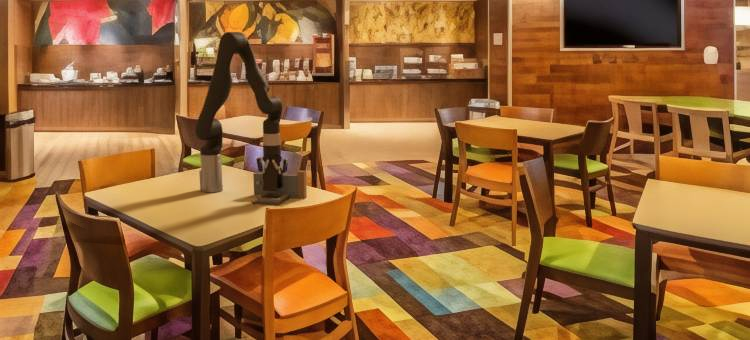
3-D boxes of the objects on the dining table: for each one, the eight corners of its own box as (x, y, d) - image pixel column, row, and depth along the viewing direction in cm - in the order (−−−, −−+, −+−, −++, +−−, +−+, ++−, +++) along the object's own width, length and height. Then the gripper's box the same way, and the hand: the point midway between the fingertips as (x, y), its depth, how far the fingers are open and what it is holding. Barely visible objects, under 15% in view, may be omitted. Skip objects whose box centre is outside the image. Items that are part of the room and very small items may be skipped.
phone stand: (275, 191, 265) (275, 163, 263) (262, 190, 266) (261, 163, 264) (283, 186, 274) (282, 159, 271) (270, 186, 275) (269, 159, 272)
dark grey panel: (253, 195, 278) (252, 169, 275) (256, 194, 281) (255, 168, 279) (303, 199, 272) (303, 172, 270) (306, 197, 276) (306, 170, 274)
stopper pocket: (252, 203, 264) (252, 199, 264) (265, 196, 278) (265, 191, 277) (279, 205, 262) (279, 200, 261) (290, 197, 275) (290, 193, 275)
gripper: (252, 144, 264) (254, 182, 267) (284, 145, 261) (285, 184, 264) (259, 141, 271) (261, 179, 275) (290, 142, 268) (291, 180, 271)
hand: (273, 181), depth 269 cm, fingers closed on phone stand, 6 cm apart
